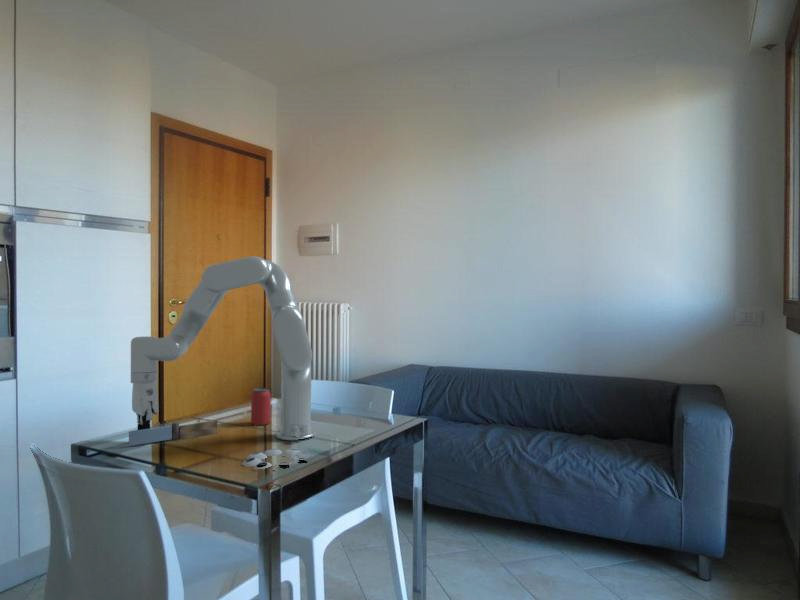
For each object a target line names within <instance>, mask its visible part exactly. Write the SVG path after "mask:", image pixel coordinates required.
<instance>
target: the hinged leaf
mask: <svg viewBox="0 0 800 600" xmlns="http://www.w3.org/2000/svg"><path fill="white" fill-rule="evenodd" d="M167 440H172V425H164V426H159V427H158V426H157V427H150V429H143V430H131V431H128V446H130V447H131V446H137V445H143V444H150V443H156V442H161V441H163V442H164V441H167Z"/></svg>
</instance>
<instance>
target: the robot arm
mask: <svg viewBox="0 0 800 600" xmlns="http://www.w3.org/2000/svg"><path fill="white" fill-rule="evenodd" d="M253 285H260V286H261V287H262V288H263V290H264V291H265V295H266V299H267V302H268V305H269V307H270V308H269V309H270V313H271V327H272V331H273V335H274V339H275V341H276V345H277V348H278V352H279V356H280V360H281V366H280V367H281V368H280V369H281V373H280V374H281V381H280V382H281V383H280V429H279V430H277V431H276V432H275V437H276V438H277V439H279V440H282V441H299V440H298V439H304V438H308V437H311V436H314V435H315V434H316V430H315V429H312V360H313V349H312V347H311V343H310V339H309V334H308V331H307V327H306V325H305V322H304V317H303V315H302V313H301V311H300V309H299V305H298V301H297V299H296V296H295V293H294V289H293V286H292V283H291V280H290V279H289V276H288V274H287V273H286V272H285V270H284V269H283V268H282V267H281V266H280V265H278V264H277V263H275V262H272V261H270V260H267V259H264V258H262V257H260V256H256V255H252V256H247V257H242V258H237V259H234V260H229V261H225V262H219V263H213V264H211V265H208V266H207V267H205V269H203V272H202V274H201V279H200V281H199V283H198V284H197V285H196V287H195V288H194V290H192V293H191V294H190V295H189V297H188V298H187V300H185V302H184V305H183V307H182V308H183V309H182V312H181V315H180V317H179V319H178V321H177V322H176V324H175V325H174V326H173V328H172V330H171V331H170V332H169V334H168V335H167V336H165V337H158V338H157V337H155V336H136V337H133V338H132V339H131V341H130V384H132V390H131V392H132V393H131V409H132V412H133V413H135V414H136V420H137V422H136V423H137V430H143V429H150V428H151V421H152V420H153V415H158V414H159V398H158V396H159V395H158V394H159V393H158V385H157V382H158V378H159V377H158V375H159V374H158V362H160V361H161V362H174V361H176V360H178V359H180V357H182V356H184V354H186V352H187V351H188V349H189V348H190V347H191V345H192V344H193V342H194V341H195V340H196V338H197V336H198V335H199V334H200V333H201V330H202V329H203V328H204V326H205V325H206V324H207V322H208V321H209V319H210V318H211V317H212V315H213V313H214V312H215V310H216V308H217V307H218V306H219V305H220V303H221V302H222V300H223V298H224V297H226V294H227V293H228V292H229V291H230V290H234V289H236V290H237V289H238V288H243V287H244V288H245V287H248V286H253ZM152 414H153V415H152ZM316 435H317V434H316ZM316 435H315V436H316ZM315 436H314V437H315Z"/></svg>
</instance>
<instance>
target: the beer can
mask: <svg viewBox="0 0 800 600" xmlns="http://www.w3.org/2000/svg"><path fill="white" fill-rule="evenodd" d="M271 396H272V395H271V392H270V389H269V388H265V387H260V388H258V387H256V388H253V389H252V393H251V398H250V400H251V401H250V402H251V403H250V405H251V406H250V408H251V410H250V411H251V412H250V417H251V418H250V423H251V424H252V425H255V426H265V425H268V424H270V423H271V398H272V397H271Z"/></svg>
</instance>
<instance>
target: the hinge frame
mask: <svg viewBox="0 0 800 600" xmlns="http://www.w3.org/2000/svg"><path fill="white" fill-rule="evenodd" d="M171 426H172V439H171V441H173V440H175V441H178V440H185V439H192V438H197V437H203V436H208V435H214V434H218V420H209V421H203V422H202V421H201V422H194V423H188V424H183V425H180V423H179V422H173V423H171Z"/></svg>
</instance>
